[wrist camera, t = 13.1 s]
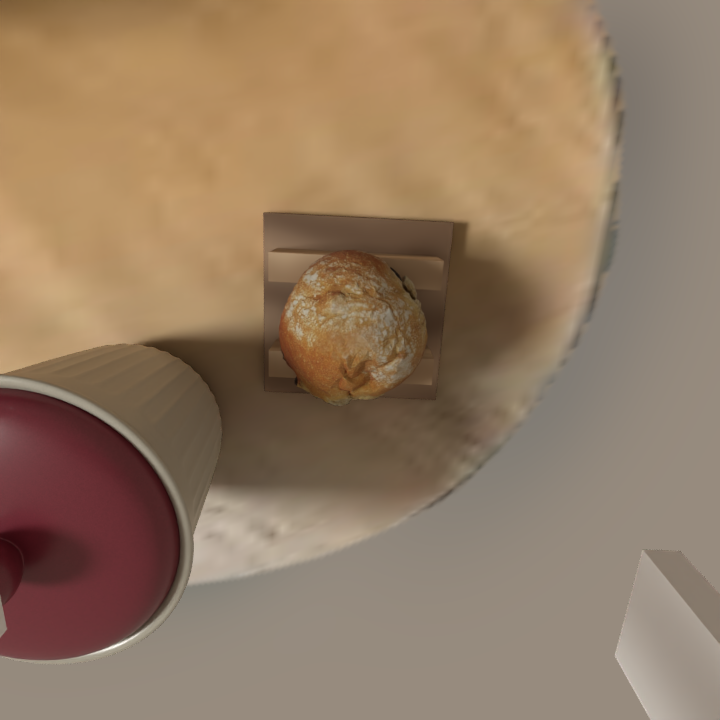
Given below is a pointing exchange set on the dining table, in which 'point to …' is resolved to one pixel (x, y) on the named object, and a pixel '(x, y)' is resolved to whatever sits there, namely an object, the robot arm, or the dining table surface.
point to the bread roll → (352, 328)
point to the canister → (99, 498)
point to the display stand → (372, 235)
